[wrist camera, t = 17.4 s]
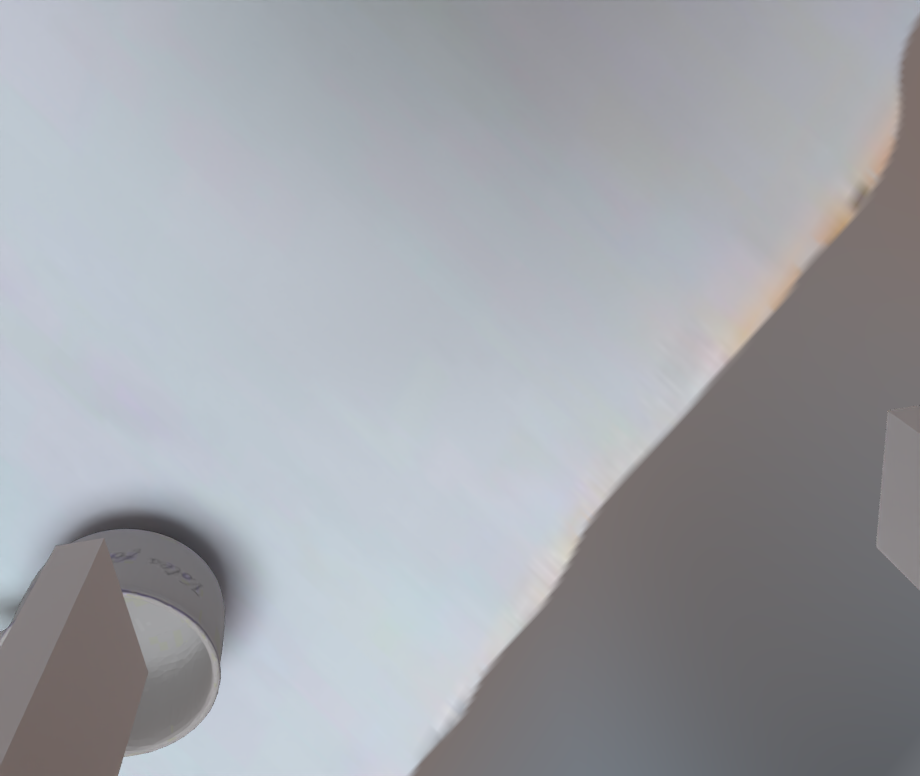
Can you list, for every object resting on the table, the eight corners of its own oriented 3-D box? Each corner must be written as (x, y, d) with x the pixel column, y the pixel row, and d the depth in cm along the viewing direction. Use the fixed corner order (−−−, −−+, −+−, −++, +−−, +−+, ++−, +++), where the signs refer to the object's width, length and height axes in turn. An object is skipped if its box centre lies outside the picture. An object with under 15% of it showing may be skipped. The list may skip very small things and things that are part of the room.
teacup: (233, 504, 49) (214, 589, 42) (238, 660, 54) (222, 762, 46) (-32, 504, 48) (-100, 593, 40) (-6, 666, 52) (-63, 773, 44)
